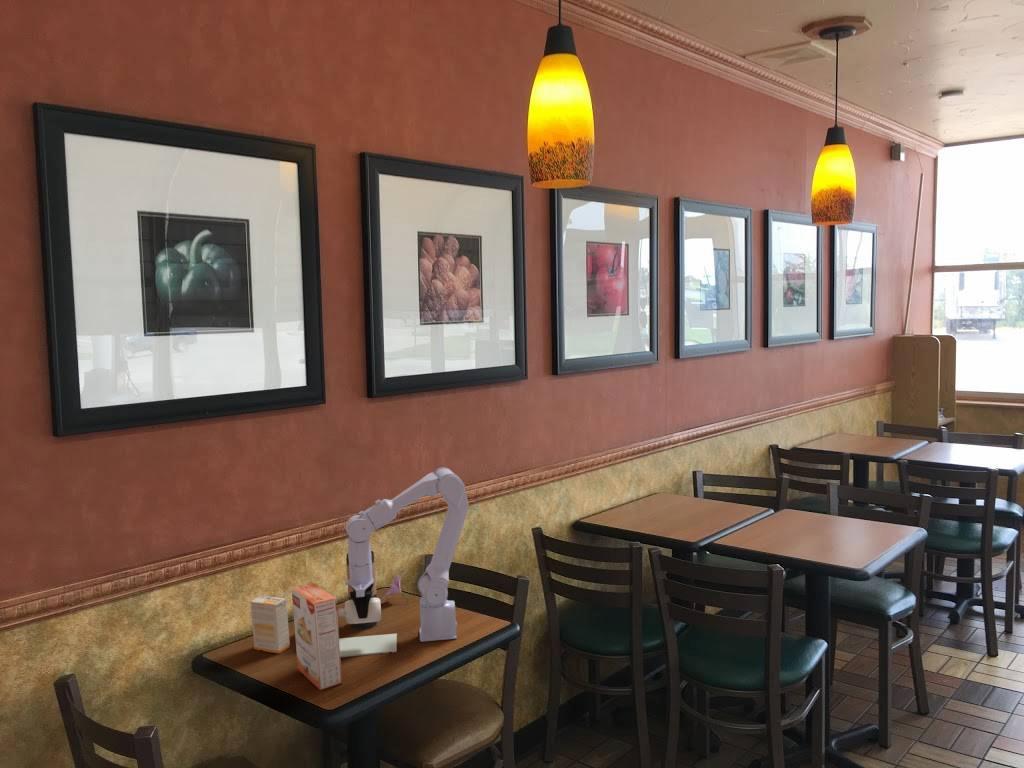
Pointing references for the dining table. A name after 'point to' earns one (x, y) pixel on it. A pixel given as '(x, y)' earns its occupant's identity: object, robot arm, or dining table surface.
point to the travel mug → (374, 594)
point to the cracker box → (317, 635)
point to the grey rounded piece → (352, 615)
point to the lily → (395, 587)
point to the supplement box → (270, 624)
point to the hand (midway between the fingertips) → (363, 614)
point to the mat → (368, 645)
